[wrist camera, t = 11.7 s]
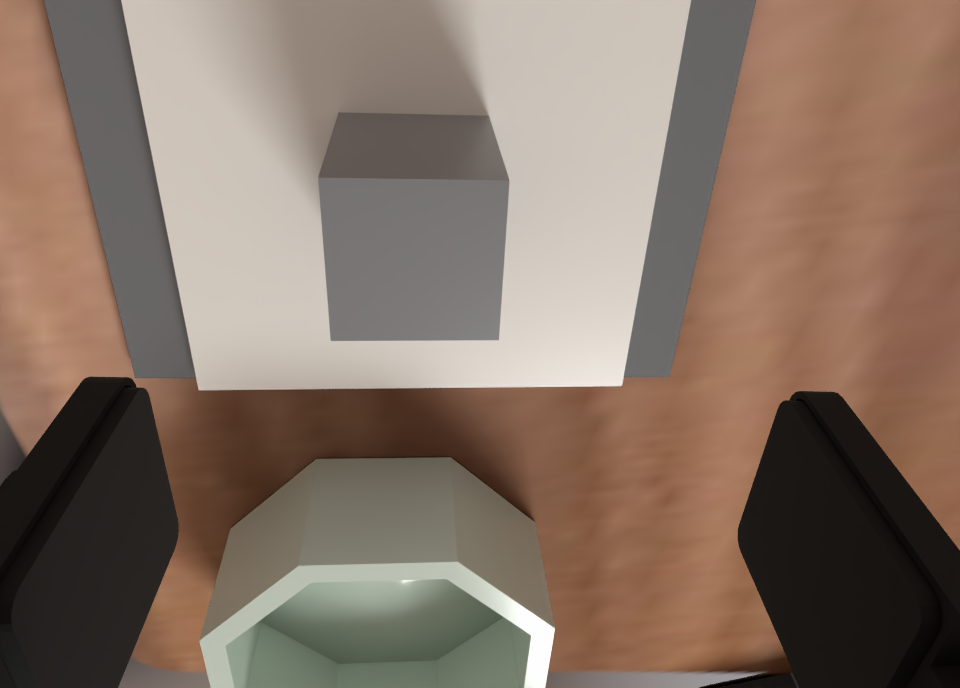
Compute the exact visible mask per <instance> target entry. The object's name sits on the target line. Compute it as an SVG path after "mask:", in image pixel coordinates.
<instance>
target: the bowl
mask: <svg viewBox="0 0 960 688" xmlns="http://www.w3.org/2000/svg"><path fill="white" fill-rule="evenodd" d="M554 631H555V625H554V620H553V615H552V610H551V604H550V599H549V594H548V589H547V583H546V578H545V573H544V567H543V562H542V557H541V552H540V546H539V541H538V536H537V531H536V525H535V522H534V521H532V520H531V519H530V518H528V517H527V516H526V515H525V514H523V513H522V512H521V511H519V510H518V509H517V508H516V507H514V506H513V505H512V504H510V503H509V502H508V501H507V500H505V499H504V498H503V497H501V496H500V495H499V494H497V493H496V492H495V491H494V490H492V489H491V488H490V487H488V486H487V485H486V484H485V483H483V482H482V481H481V480H479V479H478V478H477V477H476V476H474V475H473V474H472V473H470V472H469V471H468V470H467V469H465V468H464V467H463V466H461V465H460V464H459V463H457V462H456V461H455V460H454V459H452V458H451V457H436V458H351V459H316V460H314V461H313V462H312V463H311V464H309V465H308V466H307V467H306V468H304V469H303V470H302V471H301V472H300V473H298V474H297V475H296V476H295V477H293V478H292V479H291V480H290V481H288V482H287V483H286V484H285V485H284V486H282V487H281V488H280V489H279V490H277V491H276V492H275V493H274V494H273V495H271V496H270V497H269V498H268V499H266V500H265V501H264V502H263V503H261V504H260V505H259V506H258V507H257V508H255V509H254V510H253V511H252V512H250V513H249V514H248V515H247V516H246V517H244V518H243V519H242V520H241V521H239V522H238V523H237V524H236V525H234V526H233V527H232V528H231V529H230V532H229V536H228V539H227V543H226V547H225V550H224V554H223V557H222V561H221V565H220V568H219V572H218V575H217V579H216V582H215V586H214V590H213V593H212V597H211V600H210V604H209V608H208V611H207V615H206V618H205V622H204V625H203V629H202V633H201V636H200V640H199V641H200V645H201V649H202V653H203V657H204V661H205V666H206V670H207V674H208V678H209V682H210V686H211V688H545V684H546V679H547V673H548V667H549V661H550V655H551V649H552V643H553V637H554Z"/></svg>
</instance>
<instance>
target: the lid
mask: <svg viewBox="0 0 960 688" xmlns="http://www.w3.org/2000/svg"><path fill="white" fill-rule="evenodd" d="M121 2H122V7H123V12H124V17H125V22H126V27H127V32H128V37H129V43H130V48H131V53H132V58H133V63H134V68H135V73H136V78H137V83H138V88H139V93H140V98H141V103H142V108H143V113H144V118H145V123H146V128H147V133H148V138H149V143H150V148H151V153H152V158H153V163H154V168H155V173H156V178H157V183H158V188H159V193H160V198H161V203H162V209H163V214H164V219H165V224H166V229H167V234H168V239H169V244H170V249H171V254H172V259H173V264H174V269H175V274H176V279H177V284H178V289H179V294H180V299H181V304H182V309H183V314H184V319H185V324H186V329H187V334H188V339H189V344H190V349H191V354H192V359H193V364H194V369H195V375H196V380H197V385H198V390H279V389H376V388H474V387H571V386H622V383H623V377H624V372H625V366H626V360H627V355H628V349H629V344H630V338H631V333H632V327H633V321H634V316H635V310H636V305H637V299H638V294H639V288H640V282H641V277H642V271H643V266H644V260H645V255H646V249H647V243H648V238H649V232H650V227H651V221H652V216H653V210H654V204H655V199H656V193H657V188H658V182H659V177H660V171H661V165H662V160H663V154H664V149H665V143H666V138H667V132H668V126H669V121H670V115H671V110H672V104H673V99H674V93H675V87H676V82H677V76H678V71H679V65H680V60H681V54H682V48H683V43H684V37H685V32H686V26H687V21H688V15H689V9H690V4H691V0H121Z"/></svg>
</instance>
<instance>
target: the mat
mask: <svg viewBox="0 0 960 688" xmlns="http://www.w3.org/2000/svg"><path fill="white" fill-rule="evenodd" d="M44 2H45V7H46V11H47V15H48V19H49V23H50V27H51V31H52V35H53V40H54V44H55V48H56V52H57V56H58V60H59V64H60V69H61V73H62V77H63V81H64V85H65V89H66V93H67V98H68V102H69V106H70V110H71V114H72V118H73V122H74V127H75V131H76V135H77V139H78V143H79V147H80V151H81V156H82V160H83V164H84V168H85V172H86V176H87V180H88V185H89V189H90V193H91V197H92V201H93V205H94V209H95V214H96V218H97V222H98V226H99V230H100V234H101V238H102V243H103V247H104V251H105V255H106V259H107V263H108V267H109V272H110V276H111V280H112V284H113V288H114V292H115V296H116V300H117V305H118V309H119V313H120V317H121V321H122V325H123V329H124V334H125V338H126V342H127V346H128V350H129V354H130V358H131V363H132V367H133V371H134V375H135V378H196V375H195V369H194V364H193V359H192V354H191V349H190V344H189V339H188V334H187V329H186V324H185V319H184V314H183V309H182V304H181V299H180V294H179V289H178V284H177V279H176V274H175V269H174V264H173V259H172V254H171V249H170V244H169V239H168V234H167V229H166V224H165V219H164V214H163V209H162V203H161V198H160V193H159V188H158V183H157V178H156V173H155V168H154V163H153V158H152V153H151V148H150V143H149V138H148V133H147V128H146V123H145V118H144V113H143V108H142V103H141V98H140V93H139V88H138V83H137V78H136V73H135V68H134V63H133V58H132V53H131V48H130V43H129V37H128V32H127V27H126V22H125V17H124V12H123V7H122V2H121V0H44ZM755 4H756V0H691V4H690V9H689V15H688V21H687V26H686V32H685V37H684V43H683V48H682V54H681V60H680V65H679V71H678V76H677V82H676V87H675V93H674V99H673V104H672V110H671V115H670V121H669V126H668V132H667V138H666V143H665V149H664V154H663V160H662V165H661V171H660V177H659V182H658V188H657V193H656V199H655V204H654V210H653V216H652V221H651V227H650V232H649V238H648V243H647V249H646V255H645V260H644V266H643V271H642V277H641V282H640V288H639V294H638V299H637V305H636V310H635V316H634V321H633V327H632V333H631V338H630V344H629V349H628V355H627V360H626V366H625V372H624V377H669V376H670V372H671V368H672V363H673V359H674V355H675V350H676V346H677V342H678V337H679V333H680V329H681V324H682V320H683V316H684V311H685V307H686V303H687V298H688V294H689V290H690V285H691V281H692V277H693V272H694V268H695V264H696V259H697V255H698V251H699V246H700V242H701V238H702V233H703V229H704V225H705V220H706V216H707V212H708V207H709V203H710V199H711V194H712V190H713V186H714V181H715V177H716V173H717V168H718V164H719V160H720V155H721V151H722V147H723V142H724V138H725V134H726V129H727V125H728V121H729V116H730V112H731V108H732V103H733V99H734V95H735V90H736V86H737V82H738V77H739V73H740V69H741V64H742V60H743V56H744V51H745V47H746V43H747V38H748V34H749V30H750V25H751V21H752V17H753V12H754V8H755Z"/></svg>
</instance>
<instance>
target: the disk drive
mask: <svg viewBox="0 0 960 688" xmlns="http://www.w3.org/2000/svg"><path fill="white" fill-rule="evenodd" d="M699 688H800V686H799V683H798V681H797V679H796V677H795V674H794V672H791V673H788V674H757V675H753V676H748V677H744V678H739V679H735V680H730V681H724V682H720V683H716V684H710V685H707V686H702V687H699Z"/></svg>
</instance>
